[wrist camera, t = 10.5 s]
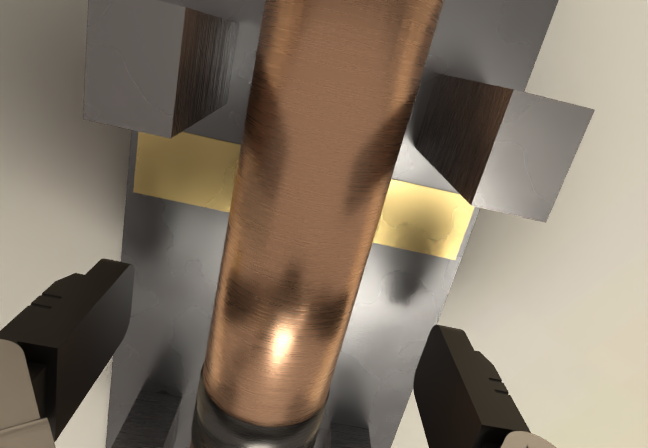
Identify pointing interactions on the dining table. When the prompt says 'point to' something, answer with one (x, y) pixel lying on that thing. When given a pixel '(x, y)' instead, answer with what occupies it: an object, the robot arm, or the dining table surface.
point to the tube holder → (396, 217)
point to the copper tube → (305, 210)
